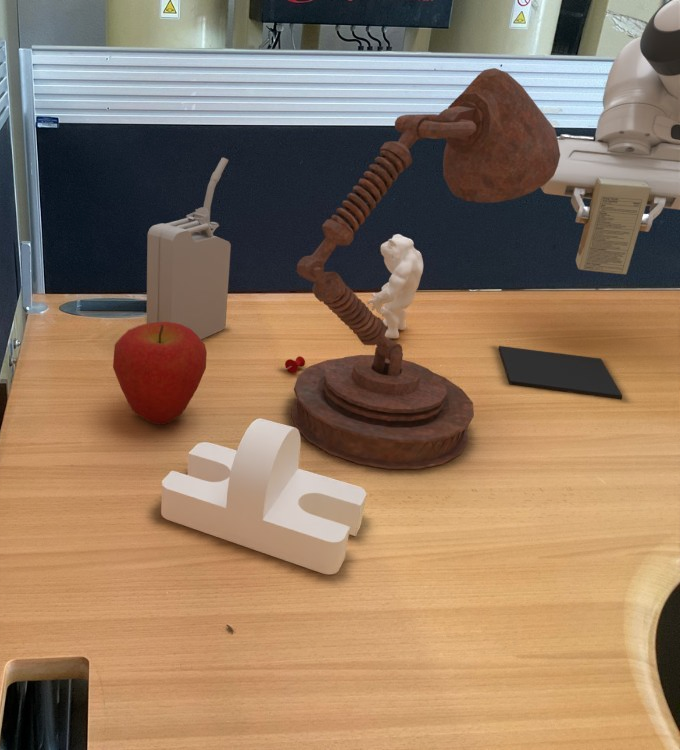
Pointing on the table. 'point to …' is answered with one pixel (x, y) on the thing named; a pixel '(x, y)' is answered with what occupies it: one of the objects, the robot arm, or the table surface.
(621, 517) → the table surface
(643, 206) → the cosmetic box
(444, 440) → the desk lamp
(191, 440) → the table surface
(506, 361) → the mat
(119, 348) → the apple
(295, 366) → the pushpin
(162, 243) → the gas can
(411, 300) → the figurine
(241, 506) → the white u-slot block
